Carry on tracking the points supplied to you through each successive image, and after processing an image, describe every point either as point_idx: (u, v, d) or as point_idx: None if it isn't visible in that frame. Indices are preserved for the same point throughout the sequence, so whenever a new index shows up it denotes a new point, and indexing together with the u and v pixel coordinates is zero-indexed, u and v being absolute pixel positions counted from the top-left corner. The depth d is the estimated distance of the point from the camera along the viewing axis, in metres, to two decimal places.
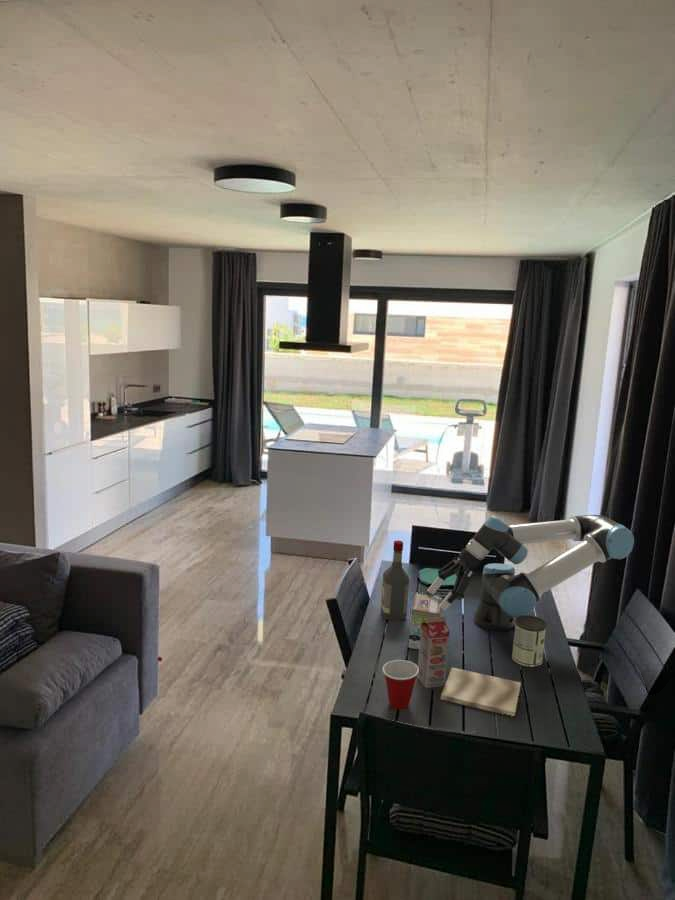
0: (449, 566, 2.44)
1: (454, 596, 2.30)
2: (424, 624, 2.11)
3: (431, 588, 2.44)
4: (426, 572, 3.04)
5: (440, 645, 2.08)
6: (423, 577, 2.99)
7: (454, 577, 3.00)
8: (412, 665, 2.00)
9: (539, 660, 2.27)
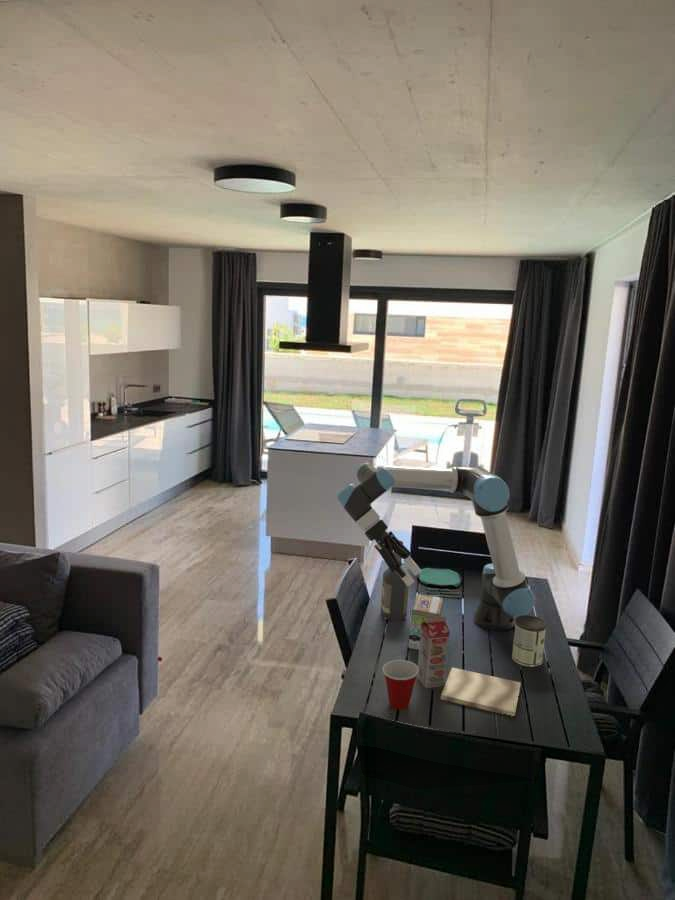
0: None
1: (397, 570, 2.16)
2: (424, 624, 2.11)
3: (413, 571, 2.27)
4: (426, 572, 3.04)
5: (440, 645, 2.08)
6: (423, 577, 2.99)
7: (454, 577, 3.00)
8: (412, 665, 2.00)
9: (539, 660, 2.27)
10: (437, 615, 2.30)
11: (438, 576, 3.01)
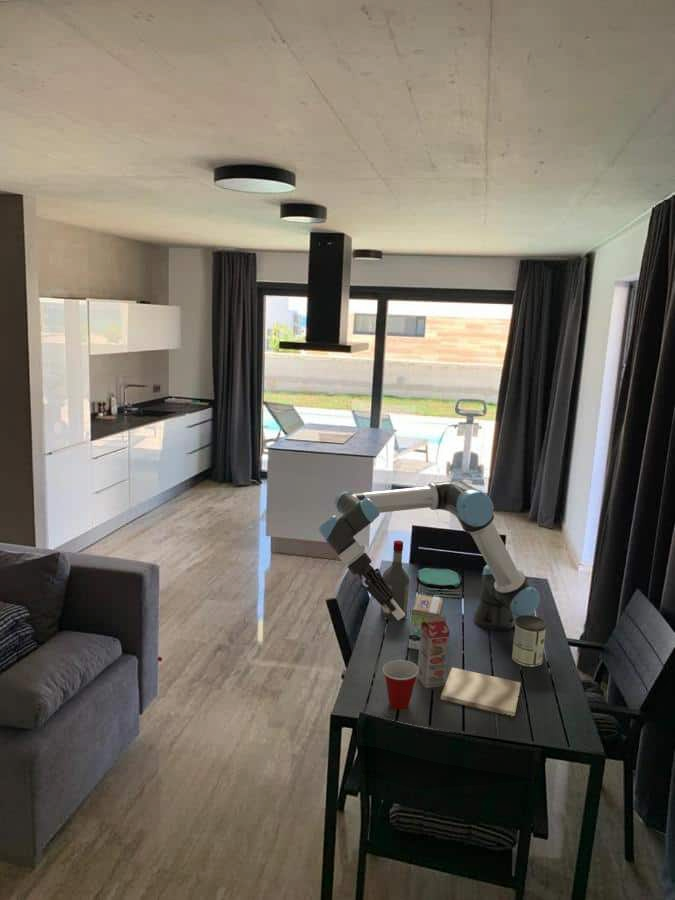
0: None
1: (387, 604, 2.12)
2: (424, 624, 2.11)
3: None
4: (425, 572, 3.04)
5: (440, 645, 2.08)
6: (422, 577, 2.99)
7: (453, 577, 3.00)
8: (412, 665, 2.00)
9: (539, 660, 2.27)
10: (437, 615, 2.30)
11: (438, 576, 3.01)
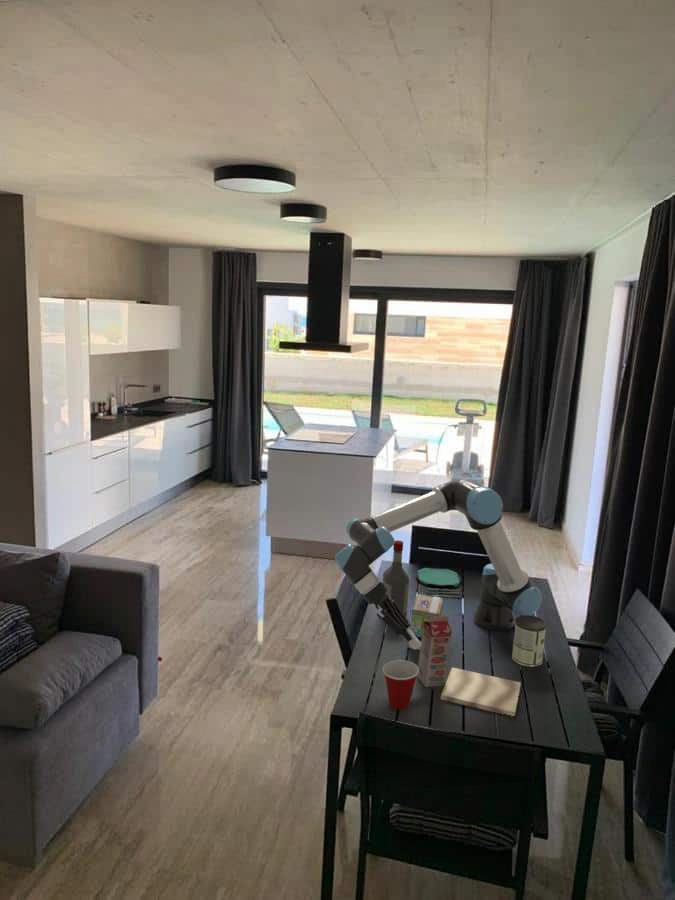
0: None
1: (403, 634, 2.12)
2: (426, 623, 2.11)
3: None
4: (425, 572, 3.04)
5: (442, 645, 2.08)
6: (422, 577, 2.99)
7: (453, 577, 3.01)
8: (412, 665, 2.00)
9: (539, 660, 2.27)
10: (437, 615, 2.30)
11: (437, 576, 3.01)
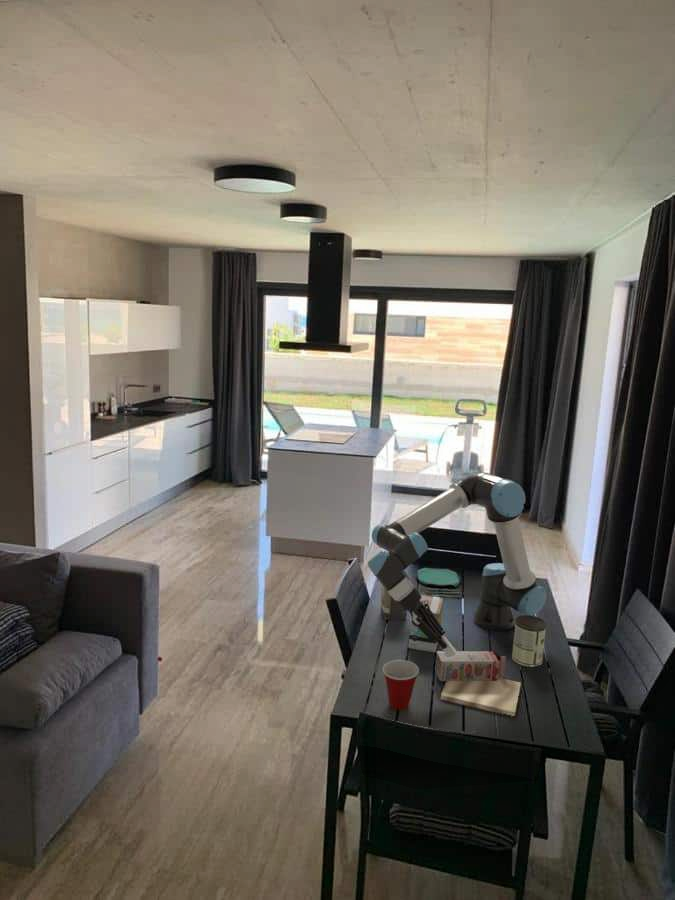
0: None
1: (439, 641, 2.08)
2: (494, 654, 2.17)
3: None
4: (424, 572, 3.04)
5: (483, 673, 2.12)
6: (422, 577, 2.99)
7: (452, 577, 3.01)
8: (412, 665, 2.00)
9: (539, 660, 2.27)
10: (437, 615, 2.30)
11: (437, 576, 3.01)
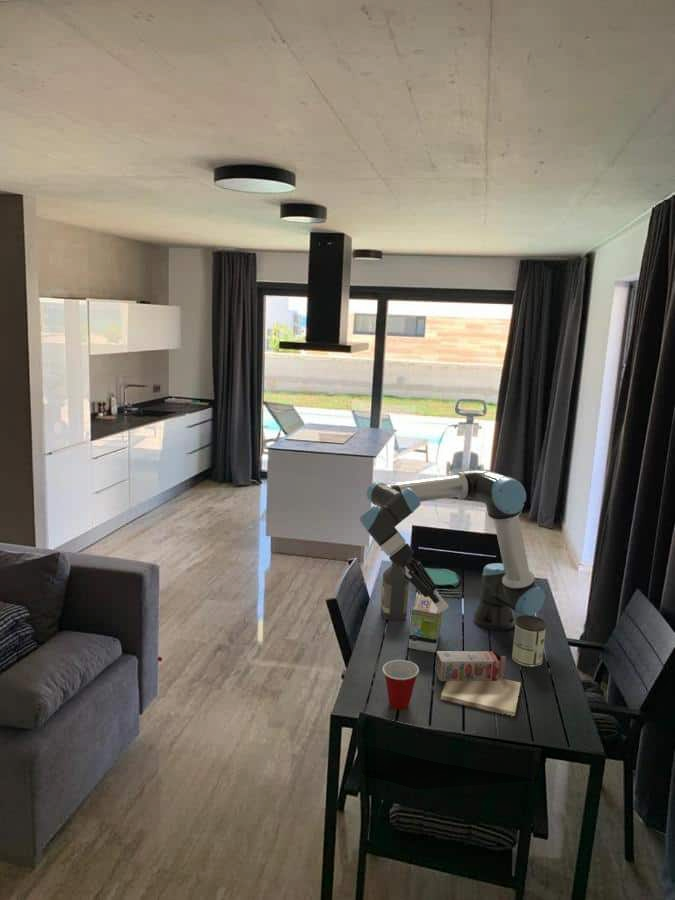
0: None
1: (431, 595, 2.08)
2: (494, 654, 2.17)
3: None
4: None
5: (483, 673, 2.12)
6: None
7: (451, 576, 3.01)
8: (412, 665, 2.01)
9: (539, 660, 2.27)
10: (437, 615, 2.30)
11: (436, 576, 3.01)
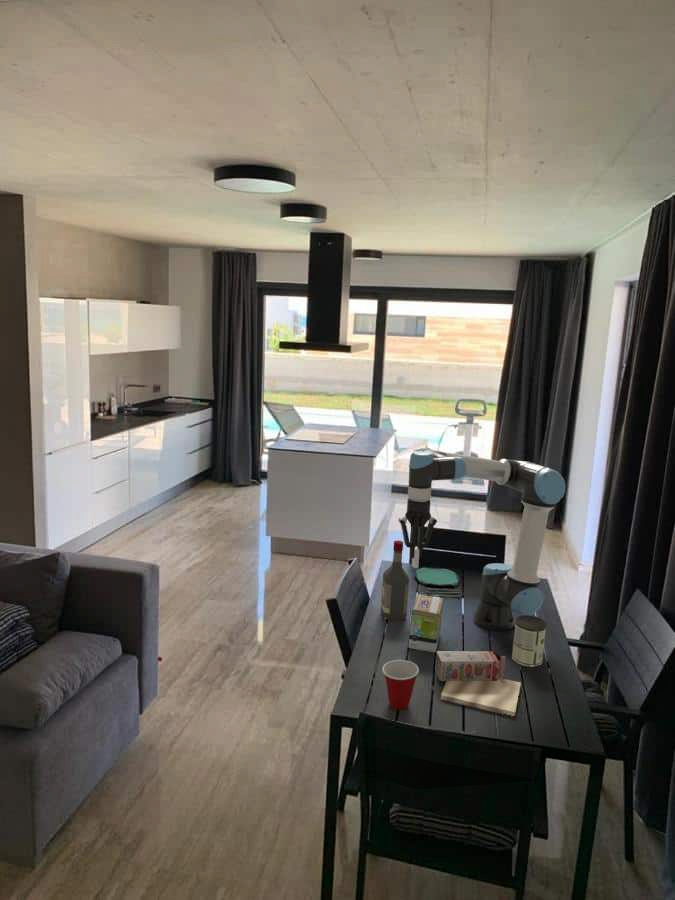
0: (427, 529, 2.23)
1: (410, 549, 2.23)
2: (494, 654, 2.17)
3: None
4: (423, 572, 3.04)
5: (483, 673, 2.12)
6: (420, 577, 2.99)
7: (451, 576, 3.01)
8: (412, 665, 2.00)
9: (539, 660, 2.27)
10: (437, 615, 2.30)
11: (436, 576, 3.01)
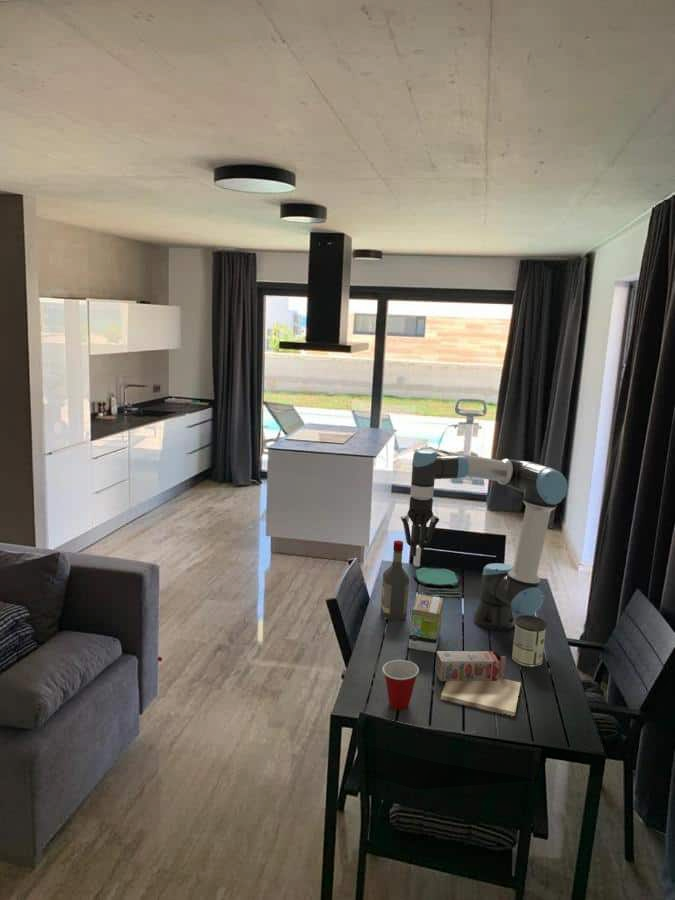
0: (429, 528, 2.23)
1: (412, 547, 2.23)
2: (494, 654, 2.17)
3: None
4: (422, 572, 3.04)
5: (483, 673, 2.12)
6: (420, 577, 2.99)
7: (451, 576, 3.01)
8: (412, 665, 2.01)
9: (539, 660, 2.27)
10: (437, 615, 2.30)
11: (435, 576, 3.01)
